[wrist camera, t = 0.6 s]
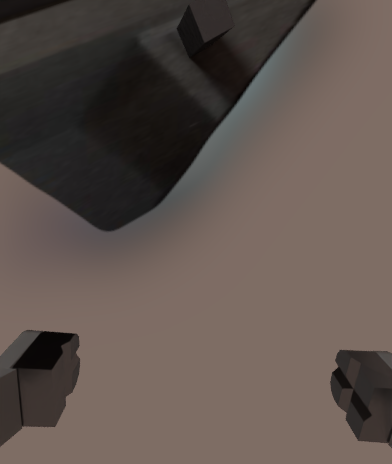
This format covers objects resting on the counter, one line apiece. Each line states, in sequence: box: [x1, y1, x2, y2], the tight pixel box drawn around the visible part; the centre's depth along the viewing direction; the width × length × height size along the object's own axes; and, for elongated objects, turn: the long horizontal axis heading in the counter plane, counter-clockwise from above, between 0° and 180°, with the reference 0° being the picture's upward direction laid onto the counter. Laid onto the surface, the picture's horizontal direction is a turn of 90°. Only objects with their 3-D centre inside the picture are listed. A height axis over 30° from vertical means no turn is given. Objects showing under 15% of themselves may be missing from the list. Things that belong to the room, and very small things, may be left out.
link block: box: [177, 0, 235, 58], centre depth 38 cm, size 4×4×11 cm
